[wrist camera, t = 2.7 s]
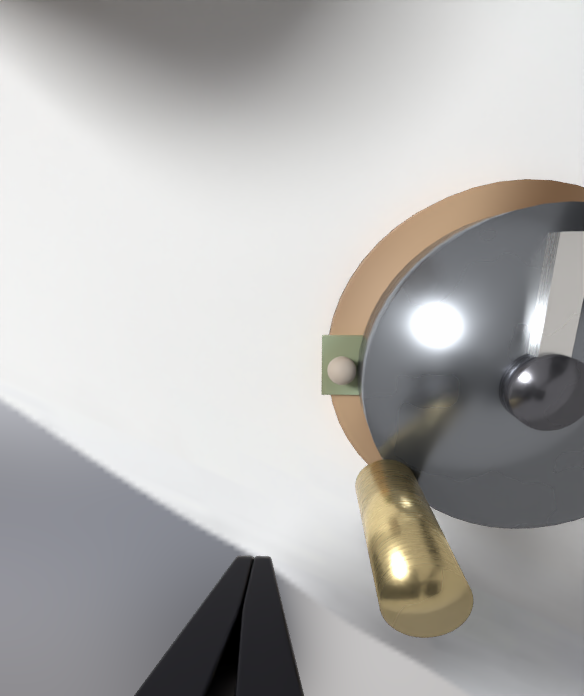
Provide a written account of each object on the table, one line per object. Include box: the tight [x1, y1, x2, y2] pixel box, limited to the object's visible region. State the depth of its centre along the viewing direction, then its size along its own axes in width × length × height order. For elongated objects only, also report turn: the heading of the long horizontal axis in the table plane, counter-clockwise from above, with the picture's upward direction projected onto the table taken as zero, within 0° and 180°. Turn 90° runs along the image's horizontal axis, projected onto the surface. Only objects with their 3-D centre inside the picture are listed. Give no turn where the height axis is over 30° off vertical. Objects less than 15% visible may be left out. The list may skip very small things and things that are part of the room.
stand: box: [322, 179, 584, 465], centre depth 10 cm, size 11×11×2 cm
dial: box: [355, 201, 584, 638], centre depth 8 cm, size 9×9×5 cm
